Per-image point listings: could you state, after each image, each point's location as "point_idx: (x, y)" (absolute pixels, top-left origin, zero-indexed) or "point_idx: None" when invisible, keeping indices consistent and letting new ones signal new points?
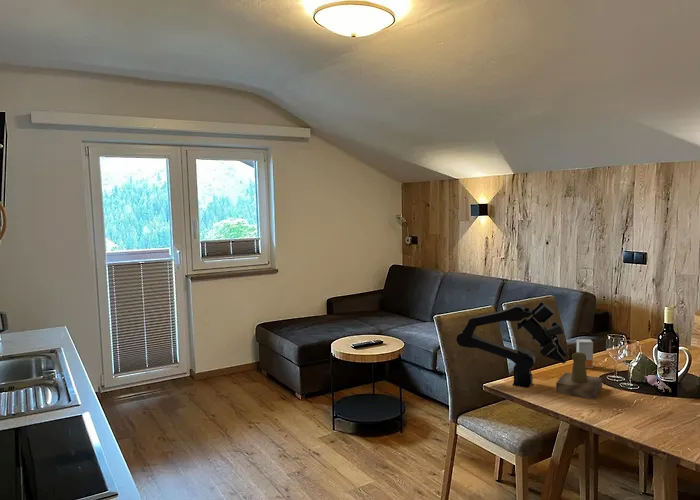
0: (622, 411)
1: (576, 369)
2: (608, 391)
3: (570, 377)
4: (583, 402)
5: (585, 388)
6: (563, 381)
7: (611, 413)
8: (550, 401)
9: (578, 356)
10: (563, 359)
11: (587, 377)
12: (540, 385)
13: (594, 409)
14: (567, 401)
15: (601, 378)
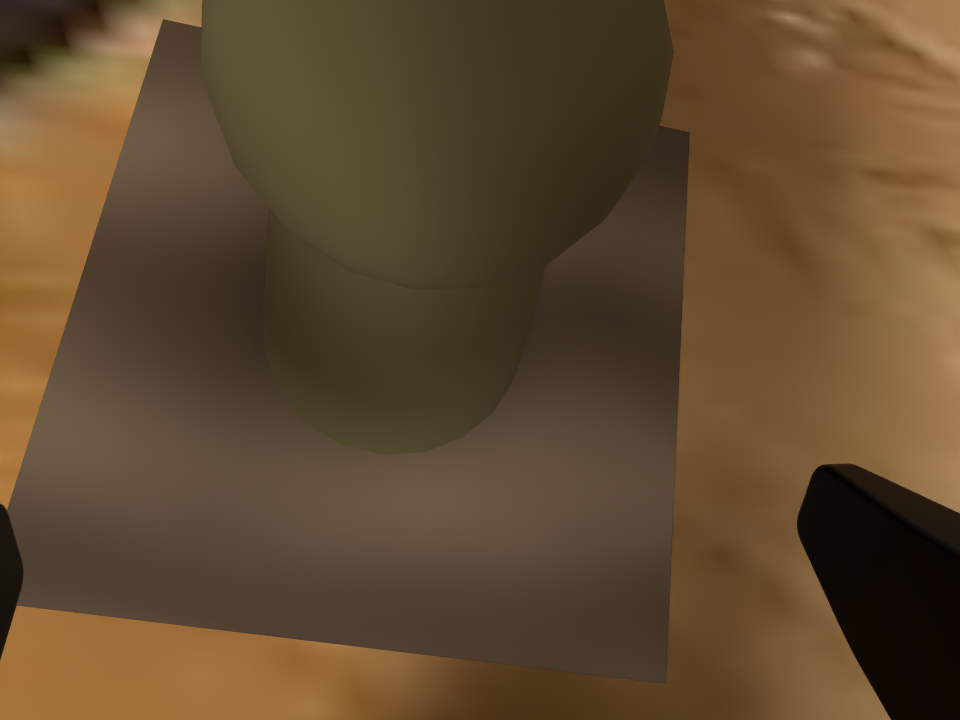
0: (833, 7)
1: (538, 283)
2: None
3: (282, 469)
4: (782, 320)
5: (676, 250)
6: (545, 568)
7: (926, 92)
8: None
9: (664, 29)
10: (957, 525)
11: (204, 208)
12: None
13: (913, 221)
14: None
15: (194, 29)
